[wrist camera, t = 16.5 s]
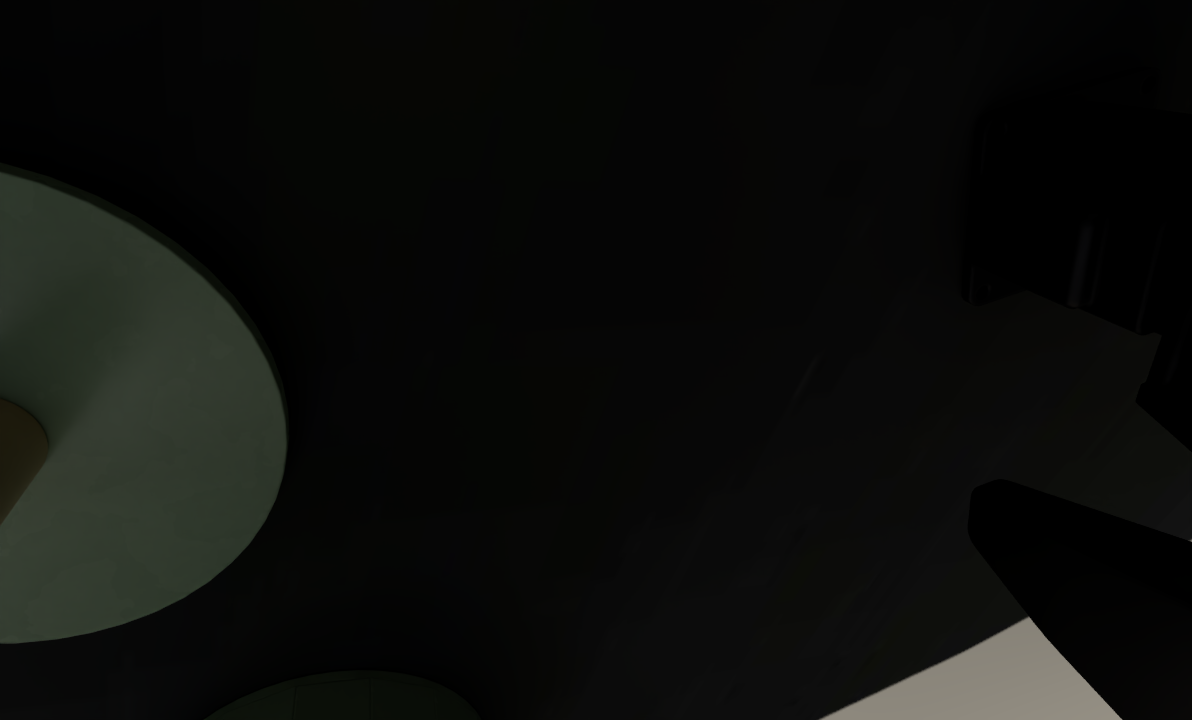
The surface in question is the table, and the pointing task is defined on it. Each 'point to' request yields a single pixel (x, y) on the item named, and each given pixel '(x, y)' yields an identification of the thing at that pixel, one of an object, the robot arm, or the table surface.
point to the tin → (351, 699)
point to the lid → (121, 416)
